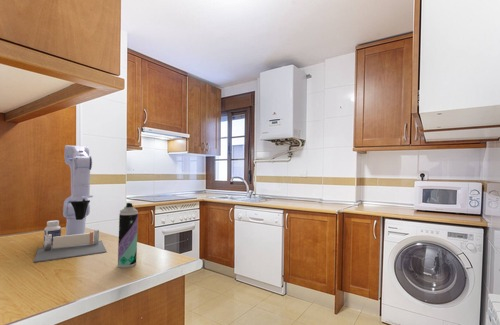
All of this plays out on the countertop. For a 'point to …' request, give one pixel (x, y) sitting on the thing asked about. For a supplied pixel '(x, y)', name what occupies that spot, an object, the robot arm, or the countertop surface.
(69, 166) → the robot arm
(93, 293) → the countertop surface
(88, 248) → the mat
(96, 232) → the posts
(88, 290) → the countertop surface
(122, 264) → the spray can
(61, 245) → the gate
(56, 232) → the pill bottle
